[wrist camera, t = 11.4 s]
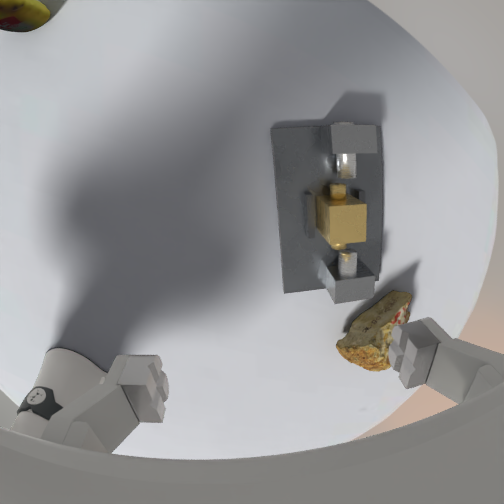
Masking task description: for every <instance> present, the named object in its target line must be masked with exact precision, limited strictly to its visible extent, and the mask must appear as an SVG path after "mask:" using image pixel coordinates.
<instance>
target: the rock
mask: <svg viewBox="0 0 504 504" xmlns="http://www.w3.org/2000/svg"><path fill="white" fill-rule="evenodd" d="M411 299H412V295H411V294H410V293H407V292H397V291H394V290H393V291H391V292H390V293H388V294H387V295H386V296H385V297H383V298H382V299H381V300H380V301H379V302H378V303H376V304H375V305H374V306H373V307H371V308H369V309H368V310H366V311H365V312H363V313H362V314H361V315H360V316H358V317H357V318H356V319H355V320H354V321H353V322H352V325H351V328H350V330H349V333H348V334H347V335H346V336H345V337H344V338H343V339H341V340H339V341H338V342H337V344H336V348H337V349H338V351H339V353H340V354H341V355H342V356H343V357H344V358H345V359H347V360H348V361H349V362H351V363H355V364H356V365H359V366H360V367H363V368H364V369H367V370H369V371H381V370H386V369H388V368H390V367H391V364H390V361H389V355H388V352H389V346H390V344H391V343H392V342H393V340H394V339H393V337H392V336H391V335H392V330H393V328H394V326H396V325H401V324H405V323H407V322H408V320H409V317H410V312H408V305H409V304H410V301H411Z"/></svg>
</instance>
